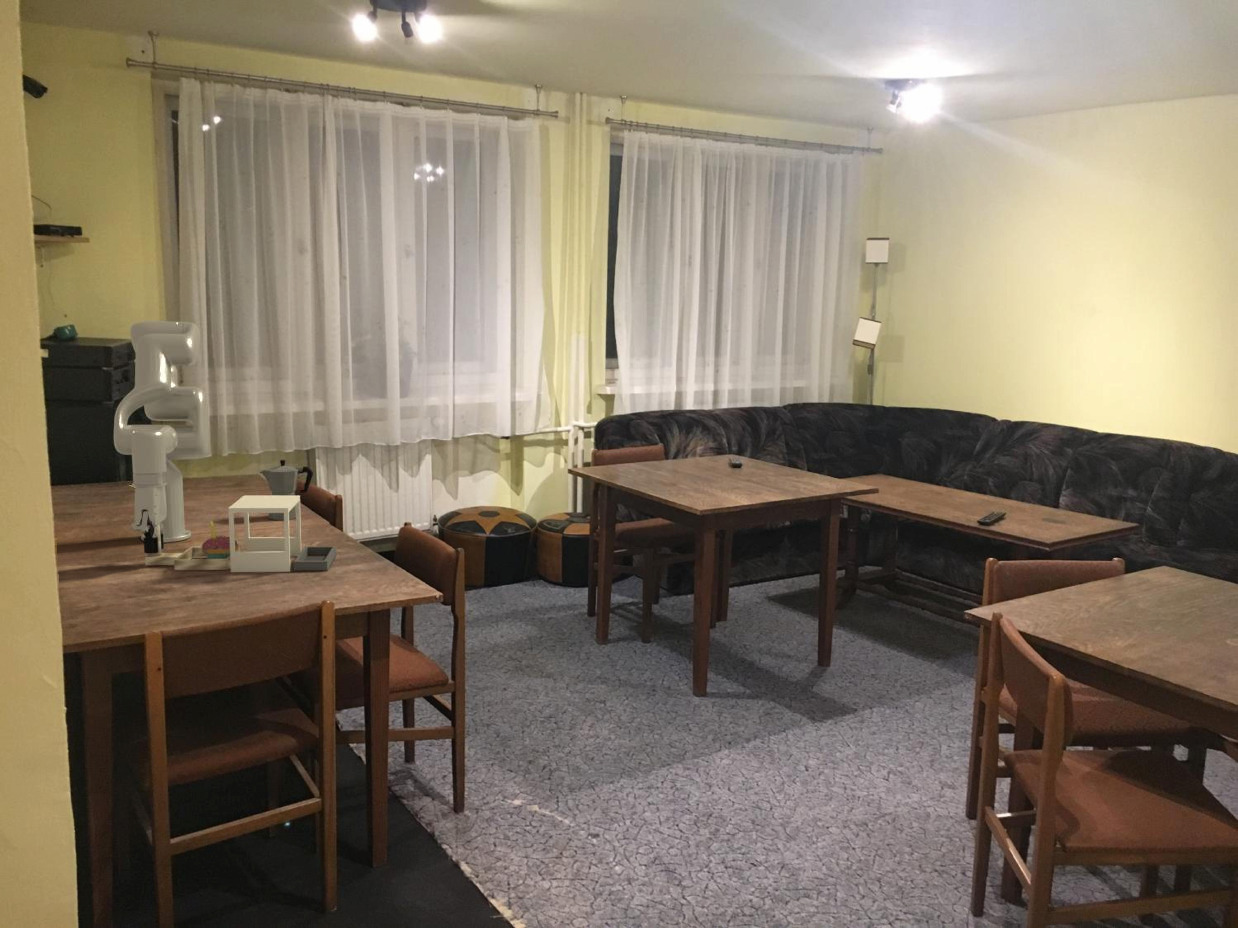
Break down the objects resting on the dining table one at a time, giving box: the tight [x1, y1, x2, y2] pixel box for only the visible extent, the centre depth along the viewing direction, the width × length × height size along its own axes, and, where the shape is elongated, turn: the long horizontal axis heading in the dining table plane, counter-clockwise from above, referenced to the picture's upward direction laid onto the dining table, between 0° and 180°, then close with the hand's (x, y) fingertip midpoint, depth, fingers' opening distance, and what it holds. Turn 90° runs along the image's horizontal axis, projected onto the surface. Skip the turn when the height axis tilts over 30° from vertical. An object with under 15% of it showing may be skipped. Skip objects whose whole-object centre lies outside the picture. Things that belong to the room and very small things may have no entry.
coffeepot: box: [259, 459, 314, 521], centre depth 292 cm, size 15×9×18 cm, turn 113°
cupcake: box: [201, 518, 239, 559], centre depth 239 cm, size 9×8×12 cm
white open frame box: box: [228, 494, 302, 573], centre depth 241 cm, size 14×15×16 cm
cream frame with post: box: [144, 523, 242, 571], centre depth 238 cm, size 21×13×12 cm, turn 98°
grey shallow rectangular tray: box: [293, 545, 337, 572], centre depth 243 cm, size 8×15×2 cm, turn 8°
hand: (154, 550), depth 237 cm, fingers closed on cream frame with post, 3 cm apart
